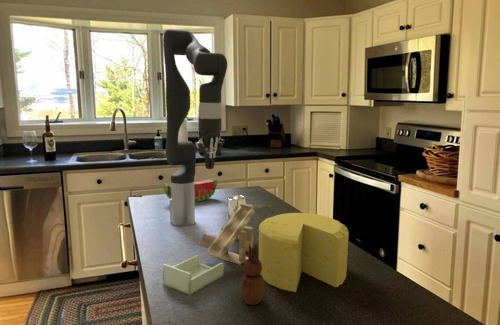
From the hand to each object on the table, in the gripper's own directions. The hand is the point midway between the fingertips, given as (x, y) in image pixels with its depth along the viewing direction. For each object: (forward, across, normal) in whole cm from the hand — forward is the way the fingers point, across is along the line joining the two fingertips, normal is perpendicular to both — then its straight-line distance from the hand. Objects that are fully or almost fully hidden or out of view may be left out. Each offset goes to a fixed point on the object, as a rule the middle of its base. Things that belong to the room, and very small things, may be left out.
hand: (209, 168), depth 133 cm
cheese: (+27, -2, +35) cm, 44 cm away
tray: (+27, +21, +13) cm, 37 cm away
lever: (+19, +3, +10) cm, 21 cm away
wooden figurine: (+26, +21, +33) cm, 47 cm away
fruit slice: (+30, -37, -44) cm, 65 cm away
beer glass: (+28, -13, +2) cm, 31 cm away
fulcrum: (+27, 0, +13) cm, 30 cm away
